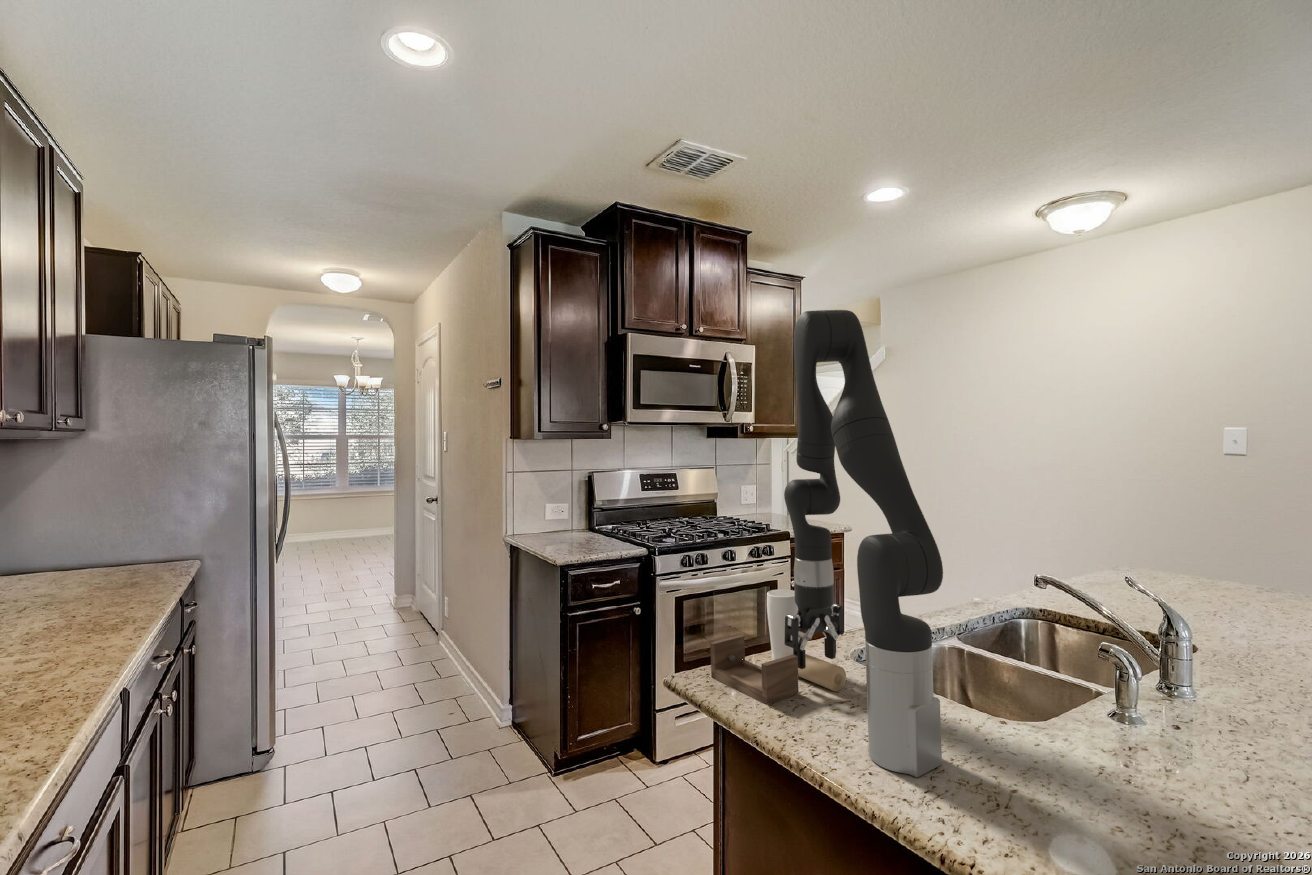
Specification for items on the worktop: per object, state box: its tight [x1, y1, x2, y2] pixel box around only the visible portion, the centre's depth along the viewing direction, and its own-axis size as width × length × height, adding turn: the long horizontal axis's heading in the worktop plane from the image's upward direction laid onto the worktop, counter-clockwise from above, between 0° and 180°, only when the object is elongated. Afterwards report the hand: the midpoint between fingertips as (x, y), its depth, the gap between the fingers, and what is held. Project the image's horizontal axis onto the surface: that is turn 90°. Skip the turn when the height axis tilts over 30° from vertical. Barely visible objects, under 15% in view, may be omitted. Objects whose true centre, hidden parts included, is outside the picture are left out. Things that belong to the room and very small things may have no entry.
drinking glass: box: [766, 588, 798, 661], centre depth 130 cm, size 7×7×15 cm
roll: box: [798, 653, 847, 692], centre depth 120 cm, size 10×5×5 cm, turn 33°
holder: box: [709, 634, 800, 705], centre depth 119 cm, size 16×8×7 cm, turn 33°
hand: (815, 662), depth 120 cm, fingers open, 8 cm apart
